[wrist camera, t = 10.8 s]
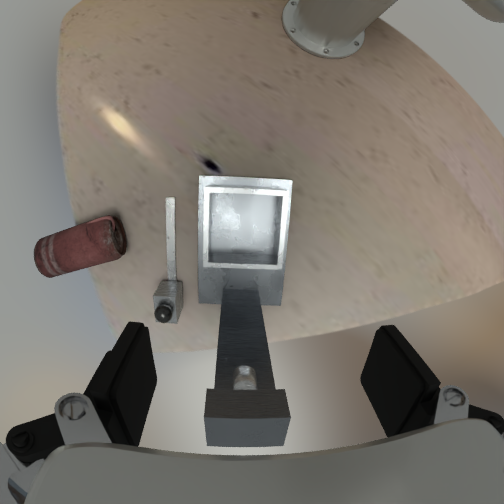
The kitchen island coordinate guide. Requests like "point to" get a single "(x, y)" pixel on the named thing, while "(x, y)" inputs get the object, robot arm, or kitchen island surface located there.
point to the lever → (168, 302)
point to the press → (241, 301)
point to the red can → (80, 247)
